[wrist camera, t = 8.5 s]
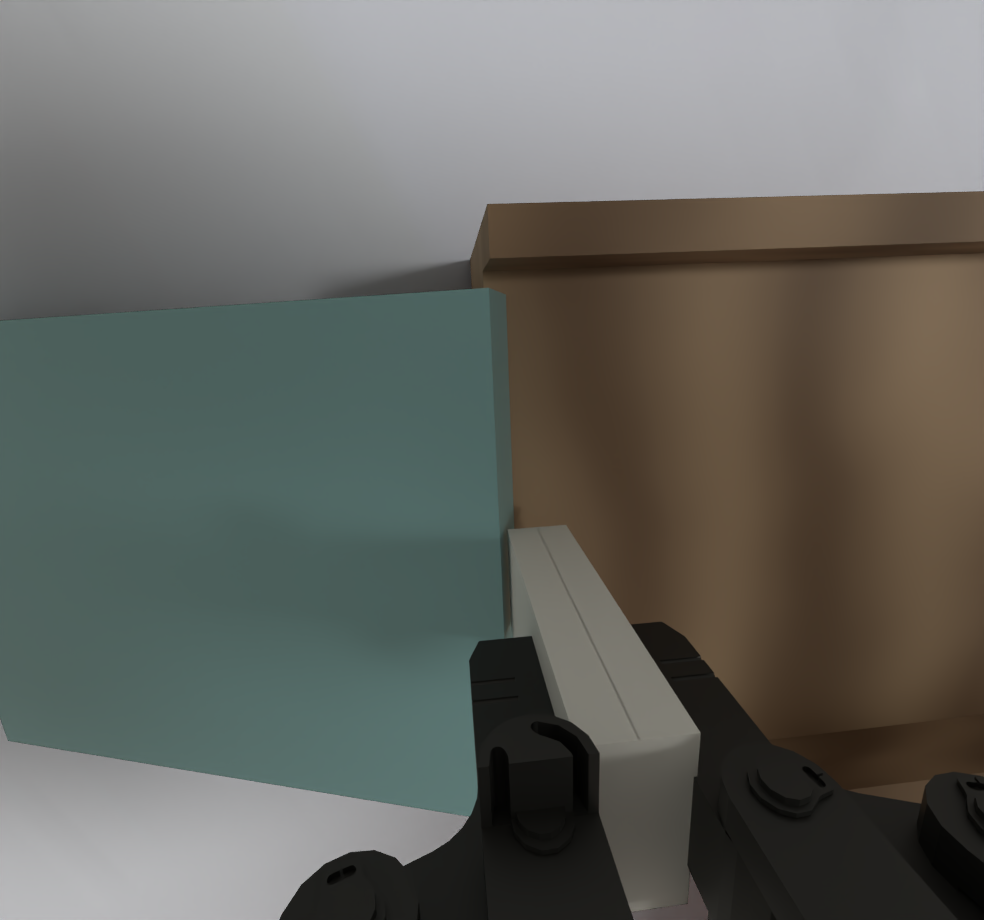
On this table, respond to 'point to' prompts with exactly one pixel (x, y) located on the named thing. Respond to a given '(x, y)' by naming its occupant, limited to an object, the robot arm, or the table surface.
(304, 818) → the table surface
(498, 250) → the walnut case
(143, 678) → the cover plate
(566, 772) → the robot arm
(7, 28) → the table surface
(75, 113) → the table surface
